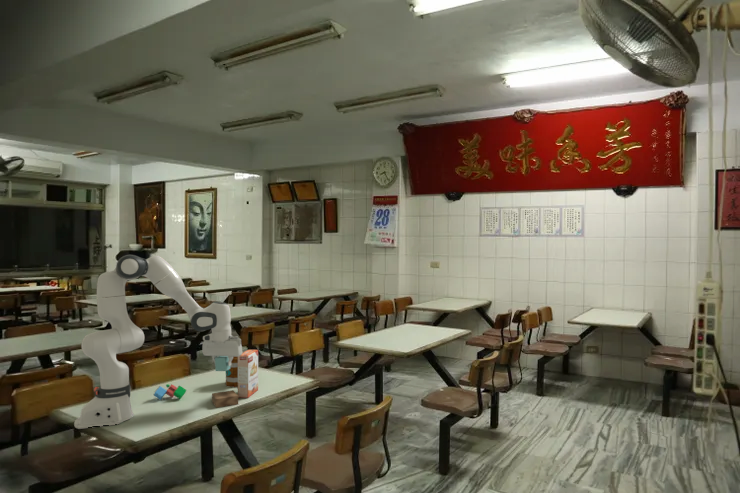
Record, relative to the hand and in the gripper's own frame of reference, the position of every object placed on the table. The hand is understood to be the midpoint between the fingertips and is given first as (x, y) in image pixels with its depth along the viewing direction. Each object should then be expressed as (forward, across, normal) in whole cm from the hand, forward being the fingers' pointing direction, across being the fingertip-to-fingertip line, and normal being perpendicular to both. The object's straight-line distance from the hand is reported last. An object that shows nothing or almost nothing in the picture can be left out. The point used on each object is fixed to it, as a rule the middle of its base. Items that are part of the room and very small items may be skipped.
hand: (222, 365), depth 232 cm
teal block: (+2, 0, 0) cm, 2 cm away
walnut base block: (+18, 0, -1) cm, 18 cm away
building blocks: (+17, +30, +2) cm, 34 cm away
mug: (+18, +11, -29) cm, 36 cm away
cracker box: (+18, -3, -16) cm, 24 cm away
